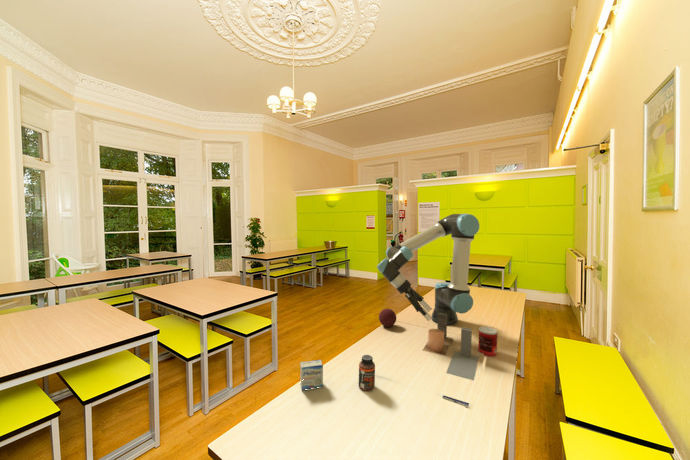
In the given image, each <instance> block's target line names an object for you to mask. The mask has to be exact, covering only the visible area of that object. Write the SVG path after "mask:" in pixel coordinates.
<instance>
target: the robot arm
mask: <svg viewBox="0 0 690 460" xmlns="http://www.w3.org/2000/svg"><path fill="white" fill-rule="evenodd" d="M479 230H480V222H479V220H478V218H477V217H476V216H475V215H474V214H470V213H452V214H449V215H447V216H444V217H443V218H442V219H440V220H438V221H436V222H435V223H434V225H432V226H430V227H428V228H427V229H425V230H423V231H421V232H419V233H417V234H416V235H414V236H412V237H410V238H408V239H406V240H404V241H402V242H401V243H398V244H397V245H395V246H390V247H388V248H387V249H386V251H385V255H386V257H387V258H386V257H385V258H384V259H383V260H382V261H381V262H380V263H378V264H377V266H376V268H377V270H378V271H379V272H380V273H381V274H382V276H384V278H386V280H387V281H388V282H389V283H390V285H391V286H393V287H394V288H395V289H396V290H397V292H399V294H404V293H405V295H404V297H405V298H406V299H407V300H408V302H410V304H411V305H412V307H413V308H414V309H415V311H416V312H417V313H420V314H421V315H422V316H423V318H424V319H425V320H426V321H427V322H429V321H430V320H431V321H432V322H434V323H436V324H438V314H439V313H443V314H447V326H454V325H457V324H458V323H459V317H458V314H466V313H468V312H469V311H470V310H471V309H472V308H473V306H474V299H473V297H472V295H471V288H470V287H469V286H468V282H469V271H470V270H469V267H470V257H471V256H470V255H471V254H470V253H471V246H472V245H471V243H472V241H474V240H475V235H477V233H478V232H479ZM449 235H450V236H451V237H450V238H451V239H452V240H453V248H452V250H453V251H452V259H451V260H452V262H451V274H450V275H451V276H450V282H437V283H435V285H434V286H435V287H434V308H432V307H431V306H430V305H429V304H428V303H427V302H426V300H424V299H425V297H423V296H422V295H421V294H419V293H418V292H417V291H416V290H415V289H413V287H411V285H412V284H411V282H410V281H409V280H408V279H406V277H405V276H404V275H403V274H402V273H401V272H400V269H401V268H402V267H404V265H406V264H407V263H408V262H409V261H410V260H411V259H412V258H413V257H414V253H413V252H415V251H417V250H419V249H421V248H422V247H424V246H426V245H428V244H429V243H432V242H433V241H436V240H437V239H439V238H441V237H443V238H445V237H447V236H449ZM431 310H433V311H432V314H430V313H429V312H430V311H431Z"/></svg>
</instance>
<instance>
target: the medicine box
mask: <svg viewBox="0 0 690 460" xmlns="http://www.w3.org/2000/svg"><path fill="white" fill-rule="evenodd" d="M299 363H300V364H299V367H300V371H299V372H300V374H299V377H300V378H299V381H301V383H300V390H301V389H302V390H305V389H311V388H316V389H318V388H317V387H322V388H323V387H324V365H323V362H322V359H317V360H309V361H301V362H299ZM303 379H304V380H303ZM302 380H303V381H302ZM302 390H301V391H302ZM311 390H312V389H311ZM305 391H306V390H305Z"/></svg>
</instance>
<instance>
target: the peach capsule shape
mask: <svg viewBox="0 0 690 460" xmlns="http://www.w3.org/2000/svg"><path fill="white" fill-rule="evenodd" d="M427 337H428V340H427V342H428V349H429V350H431V351H434V352H442V351H444V332H443V331H442V330H439V329H437V328H430V329H428V336H427Z"/></svg>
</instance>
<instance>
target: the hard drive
mask: <svg viewBox="0 0 690 460" xmlns="http://www.w3.org/2000/svg"><path fill="white" fill-rule="evenodd" d="M442 399H443V400H445V401H448V402H450V403H451V402H452V403H453V404H457V405H460V406H463V407H466V408H469V405H470V403H469V402H466V401H463V400H460V399H457V398H453V397H450V396H447V395H443V396H442Z"/></svg>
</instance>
